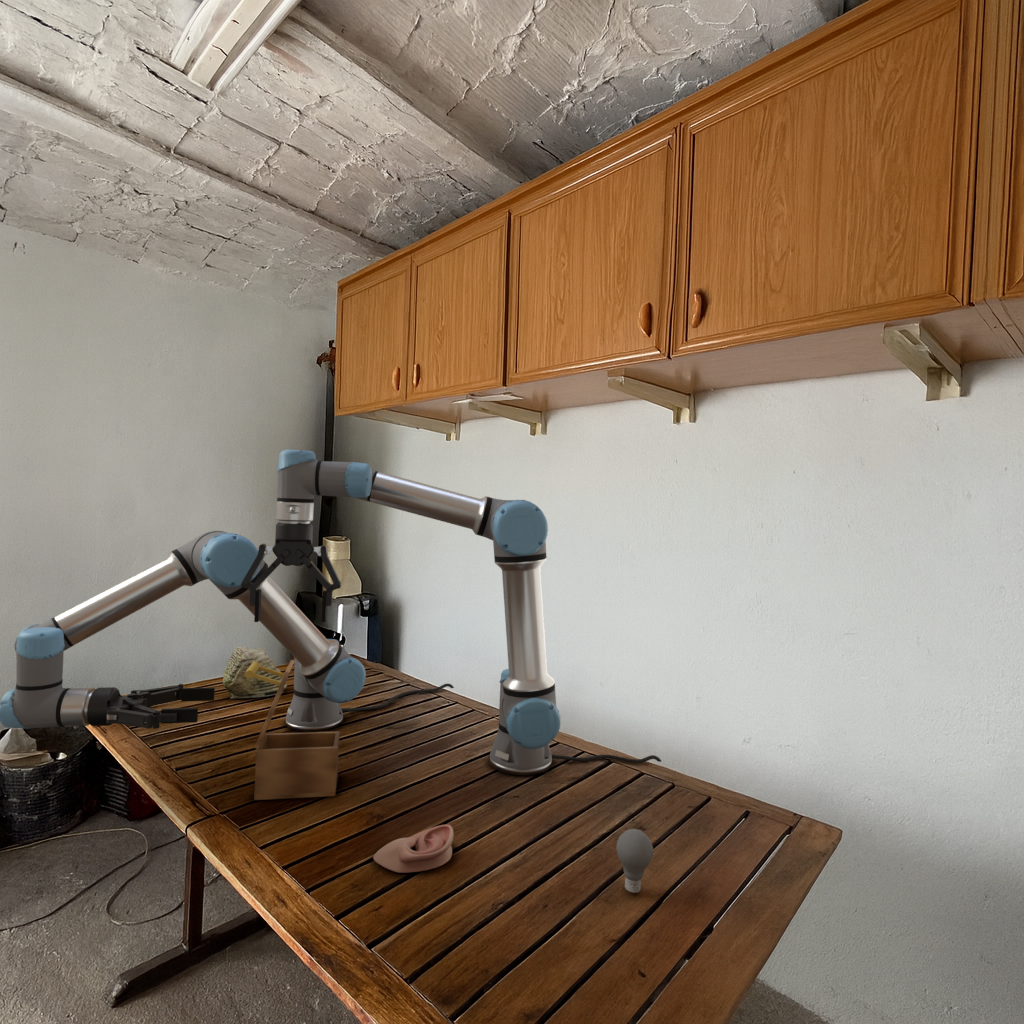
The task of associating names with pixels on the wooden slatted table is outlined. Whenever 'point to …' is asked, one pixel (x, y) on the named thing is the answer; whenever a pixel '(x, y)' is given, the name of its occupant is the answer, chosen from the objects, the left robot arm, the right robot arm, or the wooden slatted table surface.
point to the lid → (251, 674)
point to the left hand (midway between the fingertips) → (206, 704)
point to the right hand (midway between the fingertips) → (290, 621)
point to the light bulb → (634, 857)
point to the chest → (297, 765)
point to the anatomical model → (417, 851)
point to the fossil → (251, 687)
